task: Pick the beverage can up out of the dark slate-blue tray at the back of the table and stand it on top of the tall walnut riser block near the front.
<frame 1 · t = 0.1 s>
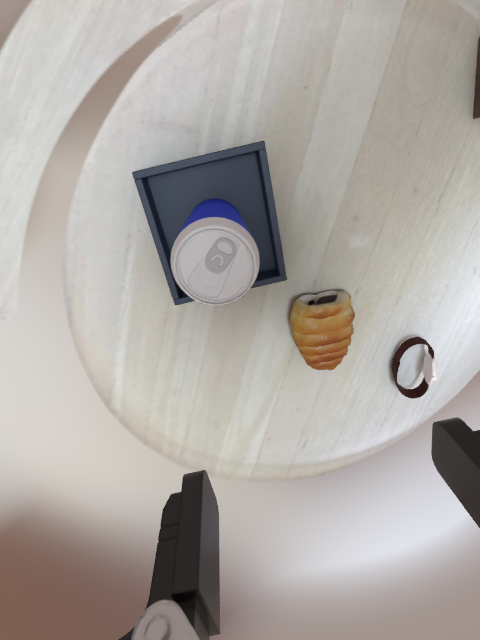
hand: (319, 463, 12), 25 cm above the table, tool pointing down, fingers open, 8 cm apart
beverage can: (215, 225, 32), resting on tray
tray: (215, 225, 32), on the table
pastry: (320, 321, 38), on the table
watch: (406, 361, 41), on the table
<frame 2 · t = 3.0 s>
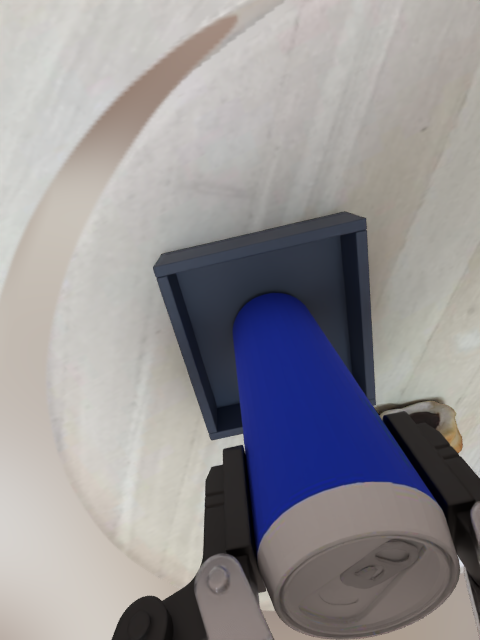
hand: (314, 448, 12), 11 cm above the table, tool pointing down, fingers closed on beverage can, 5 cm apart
beverage can: (271, 325, 22), resting on tray, touching gripper
tray: (270, 323, 22), on the table
pastry: (403, 436, 27), on the table
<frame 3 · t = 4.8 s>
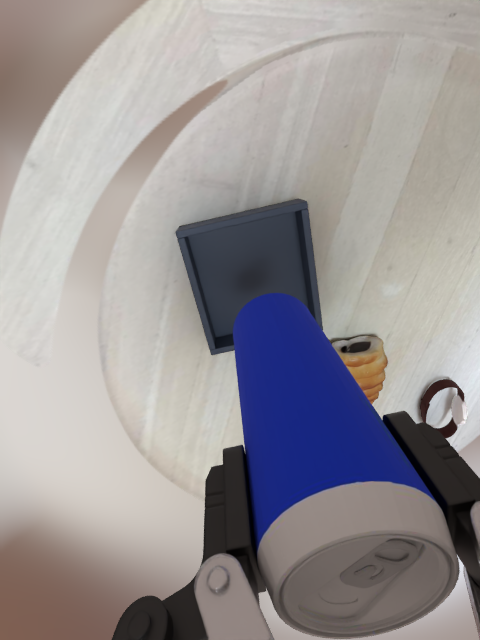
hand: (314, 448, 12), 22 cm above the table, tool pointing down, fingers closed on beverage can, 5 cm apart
beverage can: (271, 325, 22), point 12 cm above the table, touching gripper
tray: (251, 275, 33), on the table
pastry: (350, 364, 38), on the table
watch: (434, 401, 41), on the table
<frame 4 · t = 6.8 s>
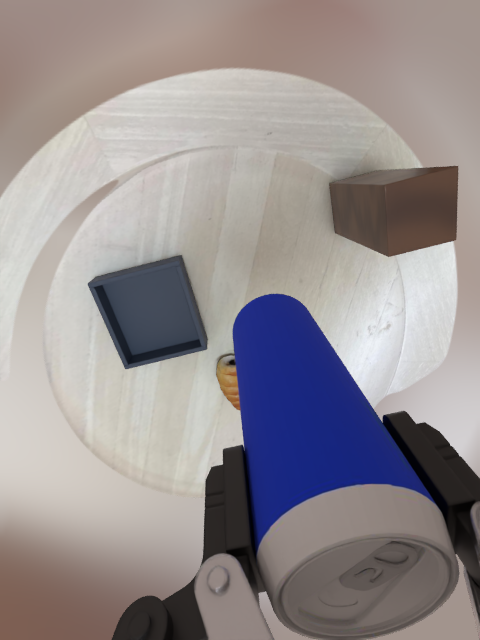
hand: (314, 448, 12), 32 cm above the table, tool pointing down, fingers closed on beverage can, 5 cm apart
beverage can: (271, 326, 22), point 22 cm above the table, touching gripper
tray: (154, 309, 44), on the table
pastry: (242, 373, 49), on the table
riser: (356, 202, 40), on the table
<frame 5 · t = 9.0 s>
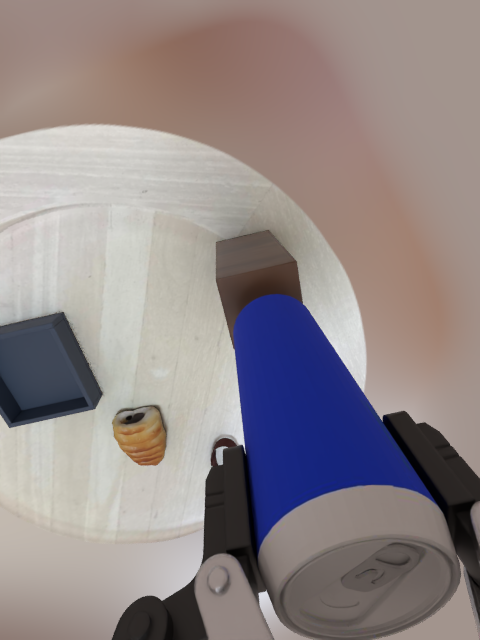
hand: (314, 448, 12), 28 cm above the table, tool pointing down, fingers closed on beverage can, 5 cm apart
beverage can: (271, 326, 22), point 18 cm above the table, touching gripper
tray: (41, 365, 42), on the table
pastry: (144, 427, 47), on the table
watch: (226, 453, 50), on the table
riser: (247, 262, 38), on the table
when the fingers open (24 cm above the table, at t = 10.5 s): beverage can stays where it is, resting on riser.
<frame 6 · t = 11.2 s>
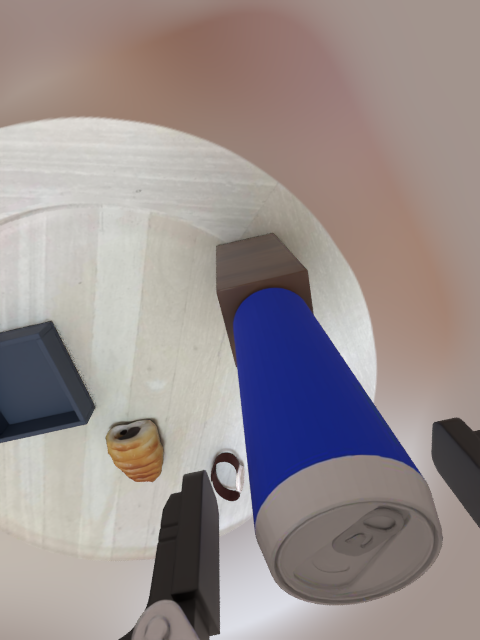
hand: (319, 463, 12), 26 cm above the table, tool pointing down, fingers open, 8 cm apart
beverage can: (270, 319, 22), point 14 cm above the table, touching riser
tray: (29, 377, 39), on the table
pastry: (140, 441, 44), on the table
watch: (227, 467, 47), on the table
riser: (250, 267, 35), on the table
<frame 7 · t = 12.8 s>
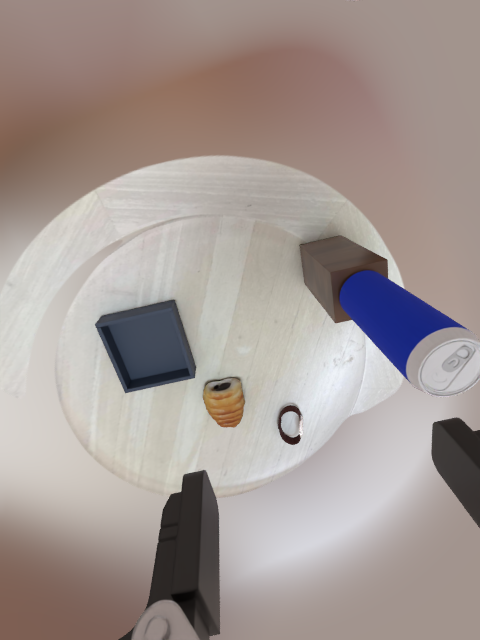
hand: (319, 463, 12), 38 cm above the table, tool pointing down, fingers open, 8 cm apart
beverage can: (360, 291, 35), point 14 cm above the table, touching riser
tray: (150, 342, 52), on the table
pastry: (225, 395, 57), on the table
watch: (289, 419, 60), on the table
riser: (322, 260, 48), on the table
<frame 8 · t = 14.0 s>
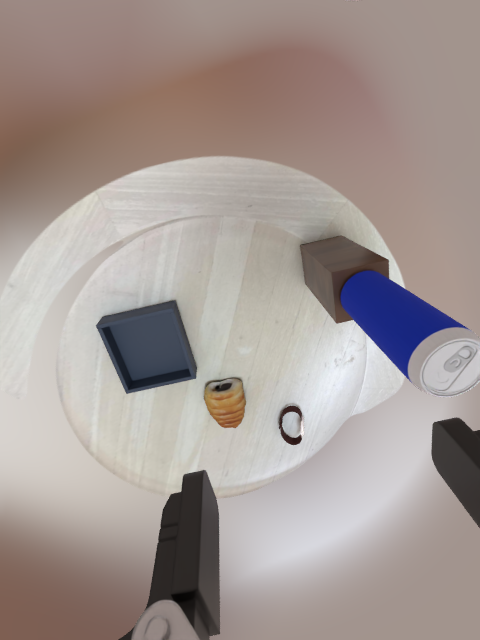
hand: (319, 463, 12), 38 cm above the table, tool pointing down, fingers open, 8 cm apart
beverage can: (361, 291, 35), point 14 cm above the table, touching riser
tray: (151, 343, 52), on the table
pastry: (226, 396, 57), on the table
watch: (290, 419, 60), on the table
riser: (323, 260, 48), on the table
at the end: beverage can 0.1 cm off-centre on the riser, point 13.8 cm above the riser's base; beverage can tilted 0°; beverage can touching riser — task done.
